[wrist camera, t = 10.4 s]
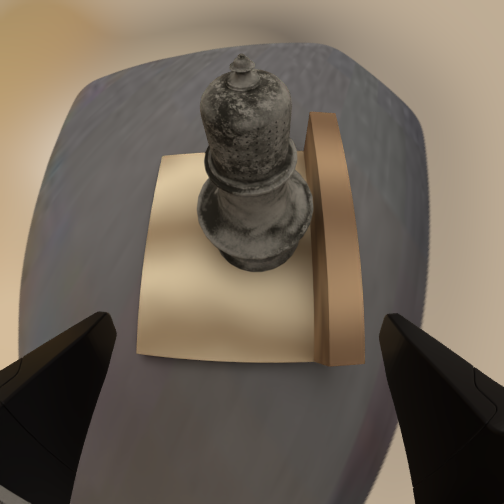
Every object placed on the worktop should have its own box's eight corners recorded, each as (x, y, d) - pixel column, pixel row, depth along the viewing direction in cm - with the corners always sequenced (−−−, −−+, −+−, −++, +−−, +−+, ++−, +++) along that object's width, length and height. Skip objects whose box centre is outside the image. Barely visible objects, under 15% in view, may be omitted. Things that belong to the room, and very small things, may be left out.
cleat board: (336, 359, 16) (364, 363, 11) (144, 353, 16) (102, 353, 12) (322, 161, 20) (335, 113, 15) (167, 165, 21) (144, 120, 16)
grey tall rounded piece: (323, 222, 17) (384, 56, 6) (265, 297, 16) (261, 178, 5) (249, 174, 19) (232, 6, 7) (190, 238, 17) (96, 87, 6)
